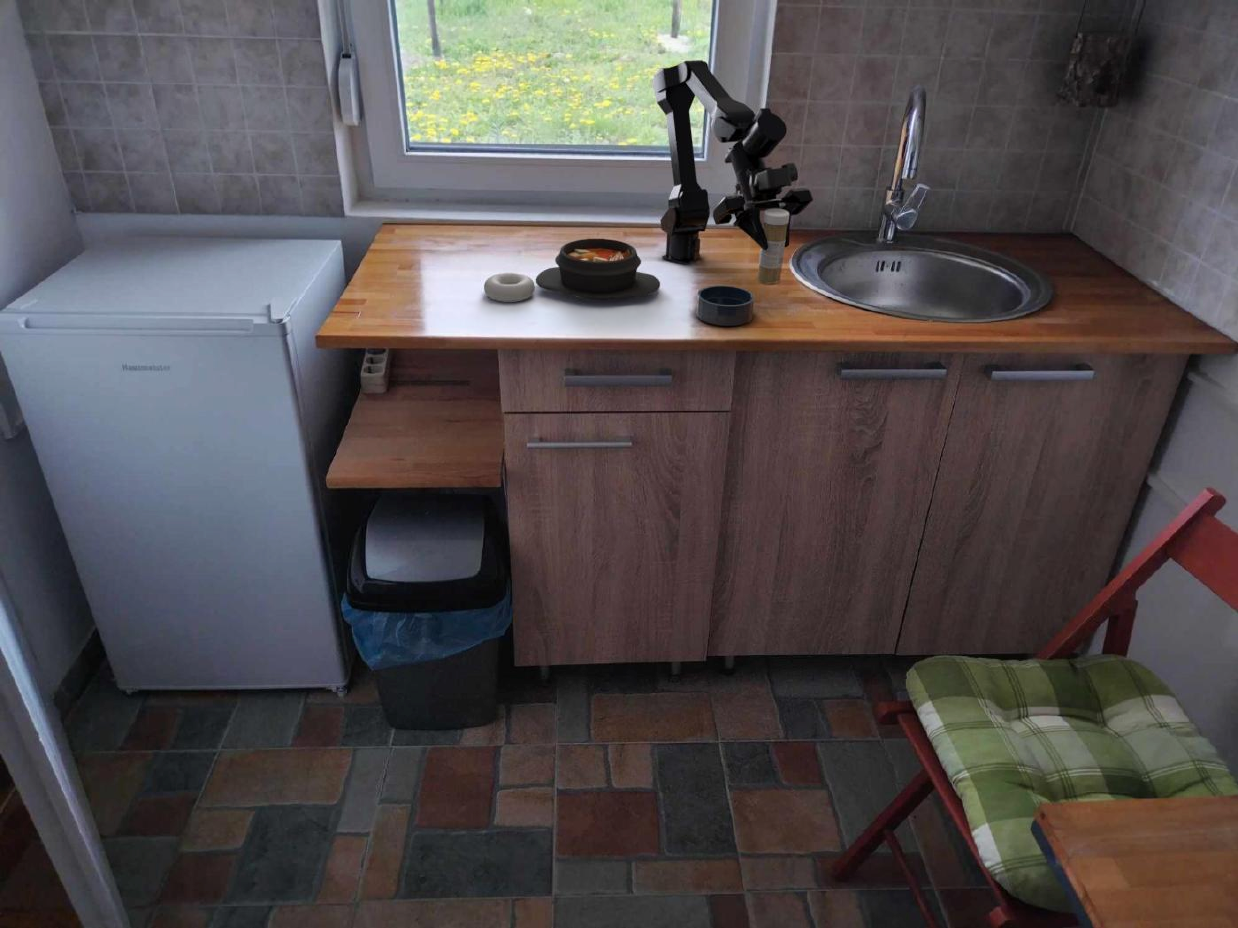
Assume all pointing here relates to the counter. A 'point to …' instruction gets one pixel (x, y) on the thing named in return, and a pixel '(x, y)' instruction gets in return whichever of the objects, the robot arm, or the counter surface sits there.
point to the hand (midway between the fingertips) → (776, 247)
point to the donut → (509, 287)
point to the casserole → (598, 271)
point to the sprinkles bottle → (773, 246)
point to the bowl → (725, 305)
